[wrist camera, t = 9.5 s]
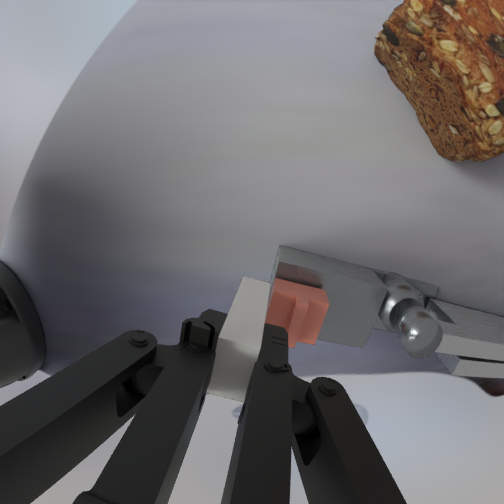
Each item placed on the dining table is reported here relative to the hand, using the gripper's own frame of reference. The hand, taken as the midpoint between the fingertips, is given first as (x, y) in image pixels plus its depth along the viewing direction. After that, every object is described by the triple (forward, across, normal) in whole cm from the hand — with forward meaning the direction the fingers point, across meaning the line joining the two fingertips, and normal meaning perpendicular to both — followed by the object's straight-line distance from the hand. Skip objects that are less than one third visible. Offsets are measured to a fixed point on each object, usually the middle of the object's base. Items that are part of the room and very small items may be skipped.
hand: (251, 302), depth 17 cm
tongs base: (+6, +16, 0) cm, 17 cm away
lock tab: (+1, +2, 0) cm, 3 cm away
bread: (+6, +13, +21) cm, 26 cm away
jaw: (+5, +20, +1) cm, 21 cm away
